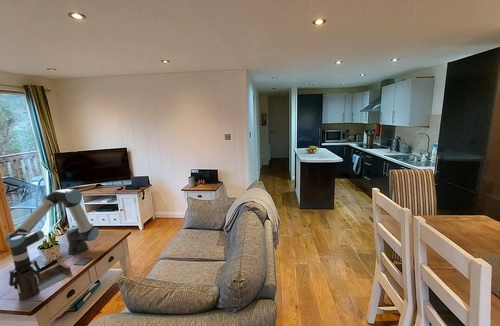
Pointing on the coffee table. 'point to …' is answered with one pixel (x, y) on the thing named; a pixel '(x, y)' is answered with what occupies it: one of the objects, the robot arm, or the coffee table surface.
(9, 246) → the robot arm
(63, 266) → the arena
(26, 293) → the beer stein
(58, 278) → the pad
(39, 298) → the coffee table surface
